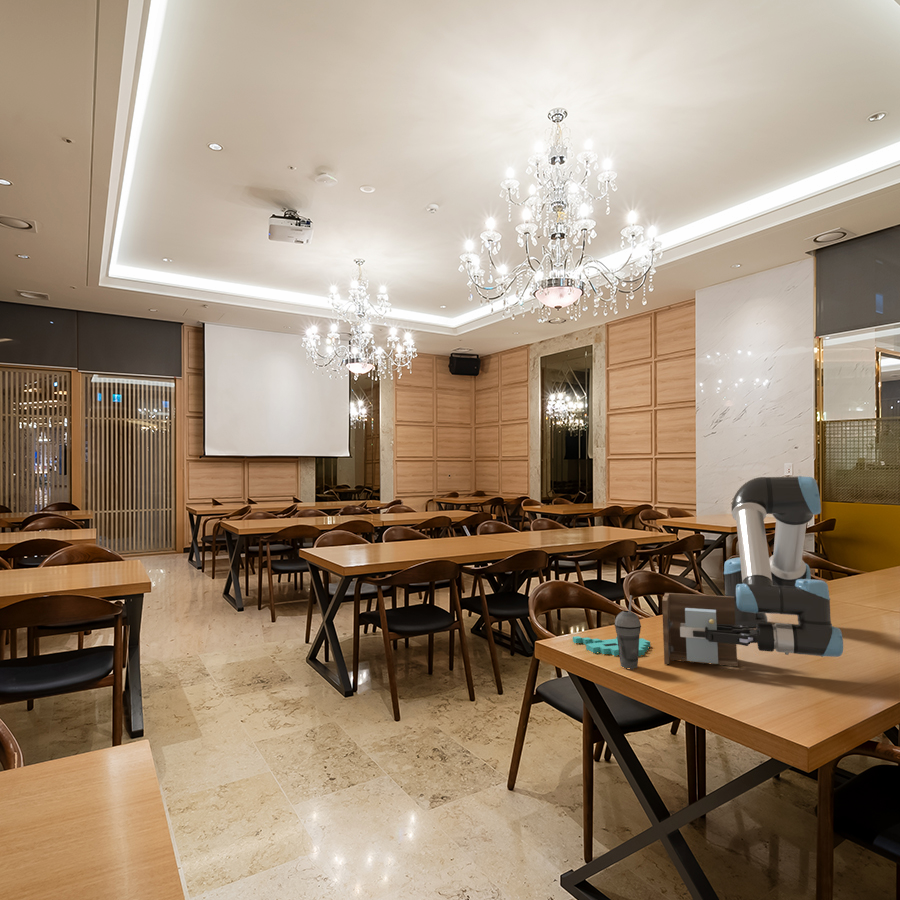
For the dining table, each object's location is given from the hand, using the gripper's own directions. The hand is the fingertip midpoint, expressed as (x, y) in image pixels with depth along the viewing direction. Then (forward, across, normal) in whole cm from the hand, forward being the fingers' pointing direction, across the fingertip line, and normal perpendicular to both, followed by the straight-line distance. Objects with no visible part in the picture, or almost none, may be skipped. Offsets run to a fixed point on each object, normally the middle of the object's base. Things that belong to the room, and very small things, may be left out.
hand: (680, 629), depth 167 cm
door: (-5, 0, -8) cm, 10 cm away
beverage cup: (+14, -8, -10) cm, 18 cm away
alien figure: (+20, +10, -10) cm, 25 cm away
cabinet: (-4, +4, -10) cm, 11 cm away
